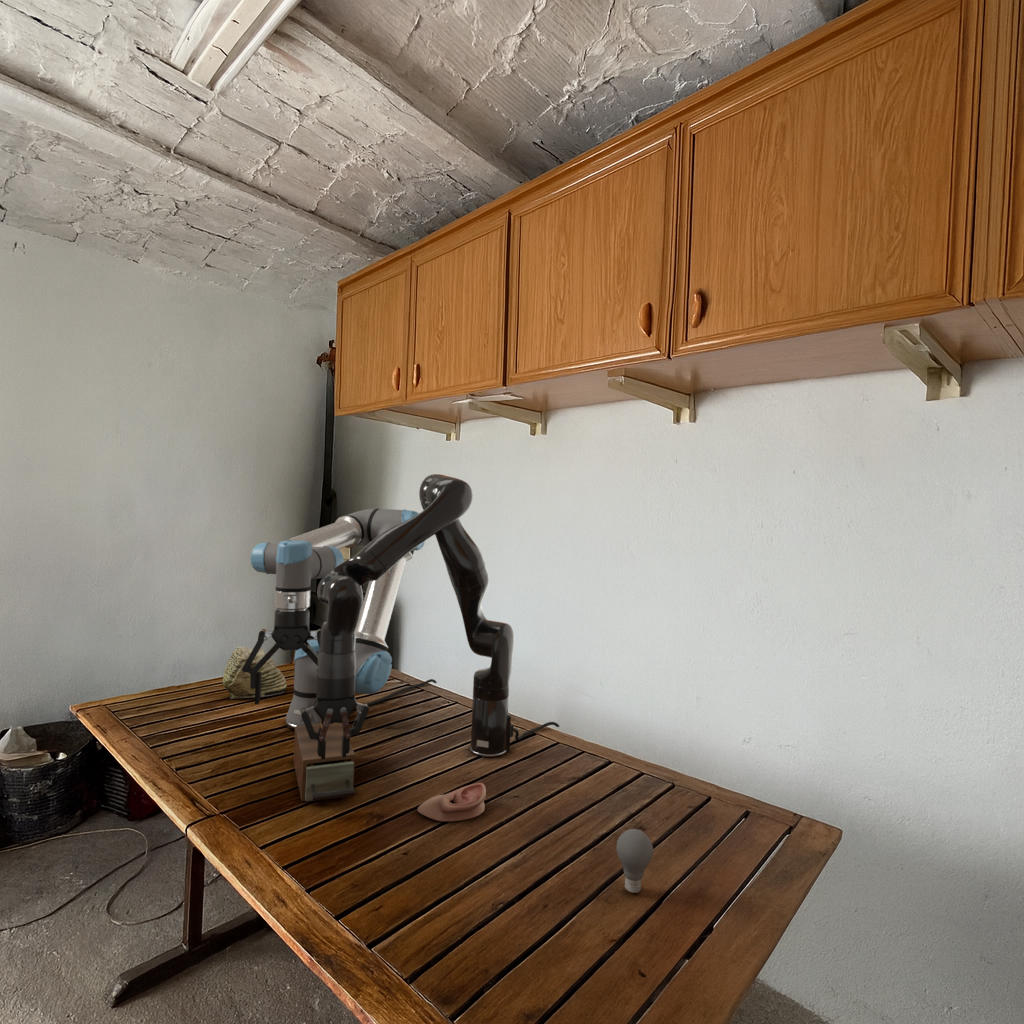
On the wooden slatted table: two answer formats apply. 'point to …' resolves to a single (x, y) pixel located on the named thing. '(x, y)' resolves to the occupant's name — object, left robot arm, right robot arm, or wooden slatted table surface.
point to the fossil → (240, 680)
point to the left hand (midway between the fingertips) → (289, 701)
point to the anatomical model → (456, 804)
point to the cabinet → (308, 751)
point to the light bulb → (634, 857)
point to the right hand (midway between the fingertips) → (333, 756)
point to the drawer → (329, 780)
